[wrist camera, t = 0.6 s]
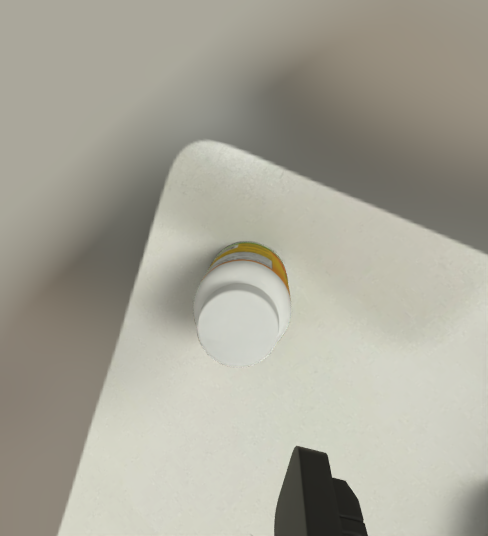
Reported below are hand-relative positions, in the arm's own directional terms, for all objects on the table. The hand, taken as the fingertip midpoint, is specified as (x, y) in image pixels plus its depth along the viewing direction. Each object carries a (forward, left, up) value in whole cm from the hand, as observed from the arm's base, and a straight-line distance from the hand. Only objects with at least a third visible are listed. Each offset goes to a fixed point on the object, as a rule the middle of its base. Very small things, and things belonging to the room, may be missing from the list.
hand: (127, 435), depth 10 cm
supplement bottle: (+1, +2, -20) cm, 20 cm away
